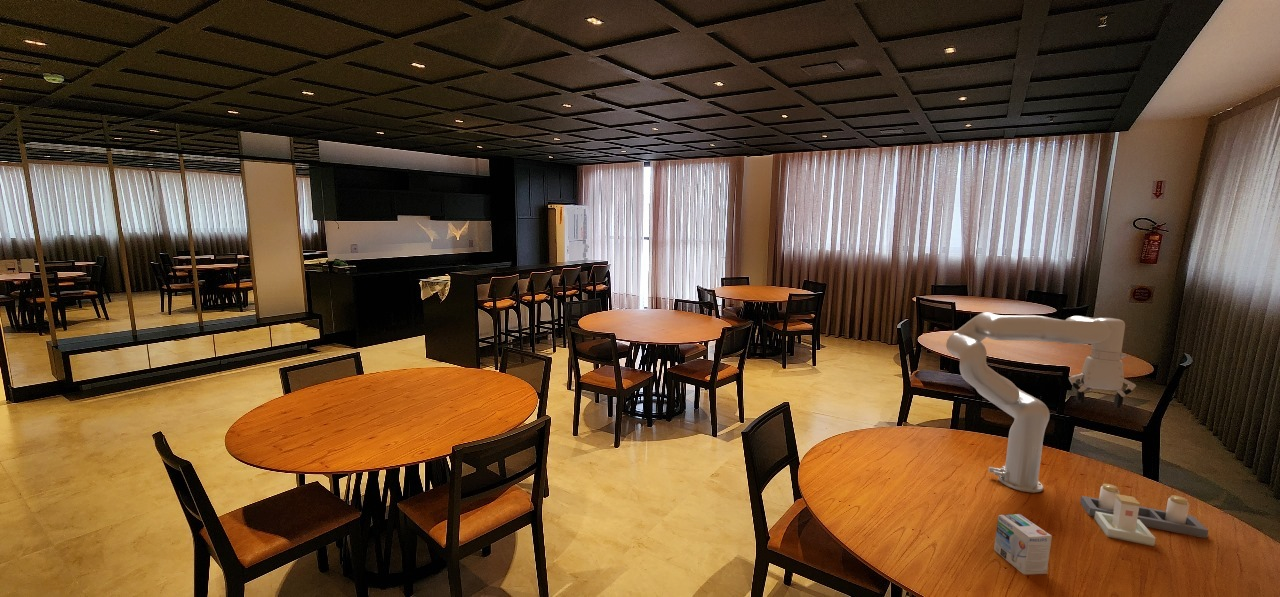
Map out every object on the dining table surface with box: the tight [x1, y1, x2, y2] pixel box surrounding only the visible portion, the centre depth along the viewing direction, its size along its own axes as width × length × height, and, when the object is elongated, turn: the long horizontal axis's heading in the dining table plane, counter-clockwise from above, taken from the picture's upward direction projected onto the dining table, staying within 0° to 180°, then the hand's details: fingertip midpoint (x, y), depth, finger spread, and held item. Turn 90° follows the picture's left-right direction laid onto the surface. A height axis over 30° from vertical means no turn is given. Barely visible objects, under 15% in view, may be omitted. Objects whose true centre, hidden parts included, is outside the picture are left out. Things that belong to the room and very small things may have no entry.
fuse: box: [1111, 493, 1141, 532], centre depth 153 cm, size 4×4×10 cm
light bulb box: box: [993, 513, 1053, 576], centre depth 138 cm, size 11×7×11 cm, turn 5°
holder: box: [1079, 495, 1209, 539], centre depth 160 cm, size 27×8×2 cm, turn 65°
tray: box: [1093, 511, 1156, 547], centre depth 153 cm, size 10×10×2 cm
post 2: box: [1165, 494, 1190, 524], centre depth 156 cm, size 4×4×9 cm
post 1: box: [1098, 483, 1120, 511], centre depth 163 cm, size 4×4×9 cm
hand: (1098, 404), depth 174 cm, fingers open, 9 cm apart
